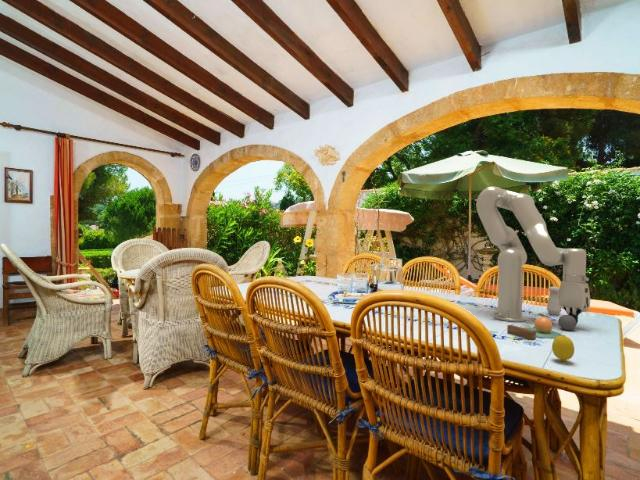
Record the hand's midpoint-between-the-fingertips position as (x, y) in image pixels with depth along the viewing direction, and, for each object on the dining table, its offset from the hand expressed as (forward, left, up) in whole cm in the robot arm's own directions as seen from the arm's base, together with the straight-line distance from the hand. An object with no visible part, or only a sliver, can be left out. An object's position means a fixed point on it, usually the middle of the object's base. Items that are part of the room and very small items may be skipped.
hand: (572, 324), depth 149 cm
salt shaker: (+18, +19, -2) cm, 26 cm away
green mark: (-20, 0, -2) cm, 20 cm away
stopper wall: (-31, 0, -2) cm, 31 cm away
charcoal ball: (-5, -1, +2) cm, 6 cm away
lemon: (-44, -23, -2) cm, 50 cm away
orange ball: (-18, 0, +2) cm, 18 cm away
